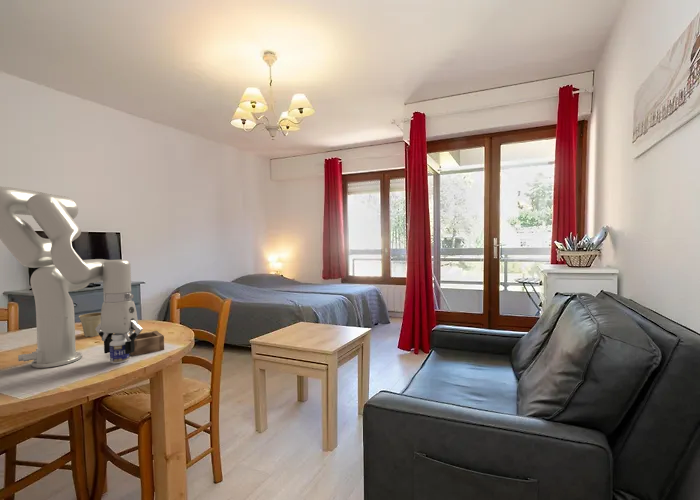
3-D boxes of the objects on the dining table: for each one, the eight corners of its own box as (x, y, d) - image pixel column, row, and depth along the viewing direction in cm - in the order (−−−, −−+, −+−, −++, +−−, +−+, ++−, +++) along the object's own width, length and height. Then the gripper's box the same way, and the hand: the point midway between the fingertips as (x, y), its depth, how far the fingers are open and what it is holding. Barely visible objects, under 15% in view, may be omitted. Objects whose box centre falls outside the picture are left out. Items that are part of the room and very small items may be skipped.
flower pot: (73, 337, 144) (72, 316, 144) (96, 331, 153) (95, 311, 153) (90, 338, 142) (89, 317, 141) (112, 332, 151) (111, 312, 150)
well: (132, 356, 120) (131, 341, 120) (126, 349, 127) (125, 335, 127) (164, 349, 126) (163, 335, 126) (156, 343, 134) (156, 330, 134)
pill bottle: (113, 365, 111) (112, 337, 111) (107, 361, 114) (106, 334, 114) (132, 360, 115) (131, 333, 115) (125, 357, 119) (124, 331, 118)
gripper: (150, 296, 117) (152, 349, 117) (103, 295, 119) (105, 348, 120) (133, 300, 109) (135, 357, 110) (83, 299, 112) (85, 355, 112)
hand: (119, 352), depth 115 cm, fingers open, 6 cm apart
